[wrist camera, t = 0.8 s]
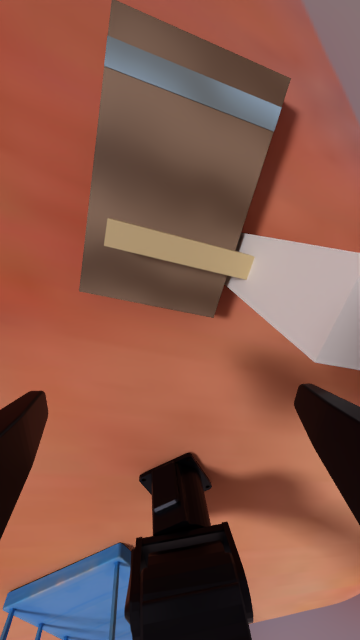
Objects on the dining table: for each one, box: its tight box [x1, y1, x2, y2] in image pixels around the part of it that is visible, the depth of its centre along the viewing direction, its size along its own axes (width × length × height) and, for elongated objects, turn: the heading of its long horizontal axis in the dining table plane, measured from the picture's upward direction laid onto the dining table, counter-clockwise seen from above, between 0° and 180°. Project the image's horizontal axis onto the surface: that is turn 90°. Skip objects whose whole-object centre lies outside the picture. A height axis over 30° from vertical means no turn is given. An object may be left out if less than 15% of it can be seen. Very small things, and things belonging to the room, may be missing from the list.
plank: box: [79, 0, 291, 318], centre depth 16 cm, size 15×10×2 cm, turn 166°
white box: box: [104, 218, 360, 370], centre depth 13 cm, size 4×13×12 cm, turn 76°
